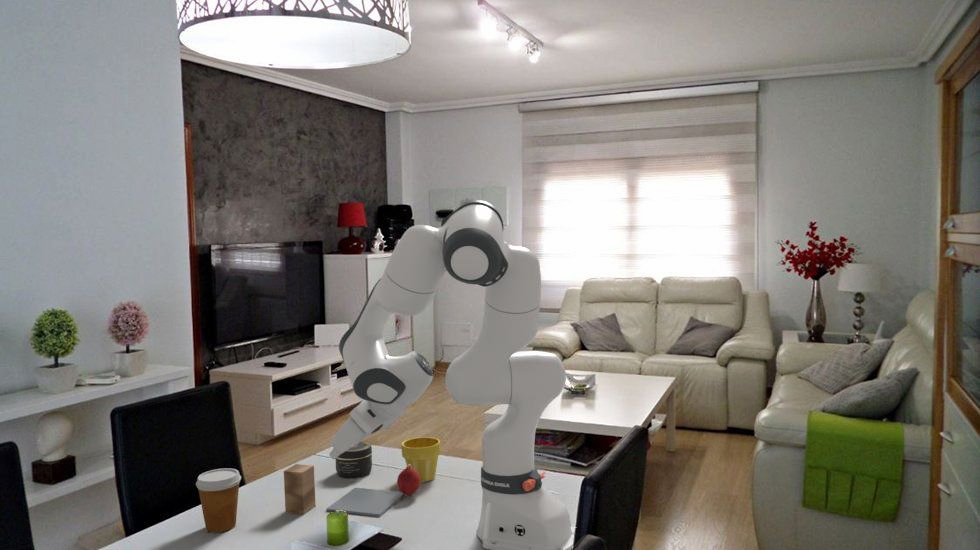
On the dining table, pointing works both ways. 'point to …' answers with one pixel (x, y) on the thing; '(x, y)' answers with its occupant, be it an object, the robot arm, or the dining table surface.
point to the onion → (408, 481)
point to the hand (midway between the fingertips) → (343, 449)
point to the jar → (355, 461)
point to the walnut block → (299, 489)
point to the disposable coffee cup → (219, 498)
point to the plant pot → (422, 455)
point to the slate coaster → (366, 501)
